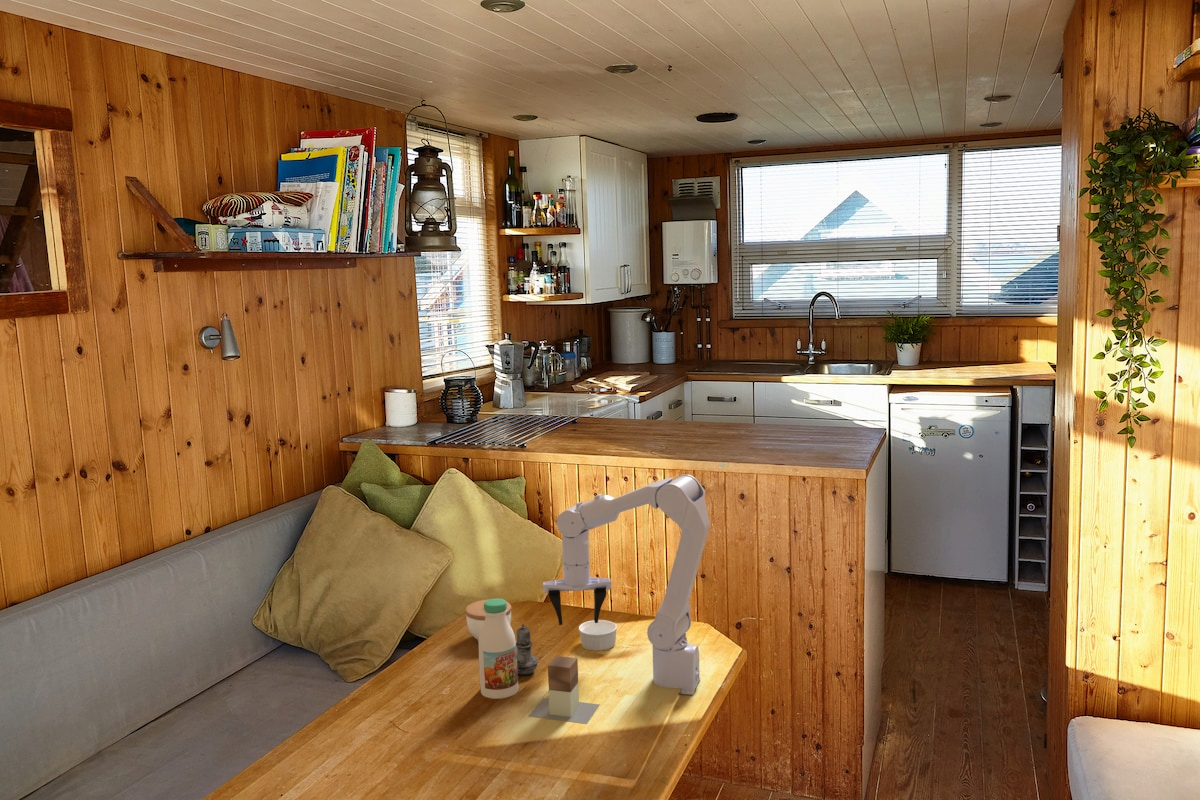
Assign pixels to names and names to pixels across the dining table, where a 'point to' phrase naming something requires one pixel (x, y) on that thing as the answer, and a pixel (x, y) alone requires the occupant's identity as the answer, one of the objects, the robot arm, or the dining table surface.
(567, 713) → the sage block
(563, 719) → the plate
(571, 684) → the walnut block
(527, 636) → the grey chess piece
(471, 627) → the lidded jar
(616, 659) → the dining table surface
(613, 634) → the ramekin
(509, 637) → the milk bottle
